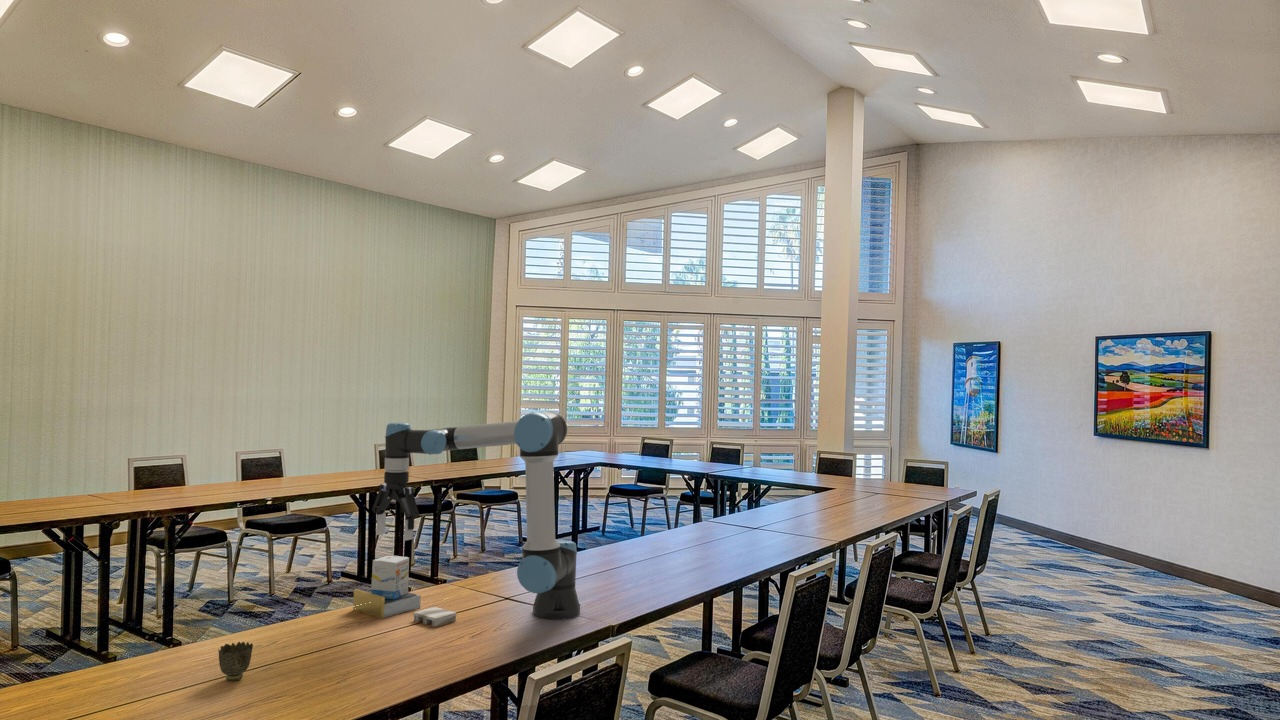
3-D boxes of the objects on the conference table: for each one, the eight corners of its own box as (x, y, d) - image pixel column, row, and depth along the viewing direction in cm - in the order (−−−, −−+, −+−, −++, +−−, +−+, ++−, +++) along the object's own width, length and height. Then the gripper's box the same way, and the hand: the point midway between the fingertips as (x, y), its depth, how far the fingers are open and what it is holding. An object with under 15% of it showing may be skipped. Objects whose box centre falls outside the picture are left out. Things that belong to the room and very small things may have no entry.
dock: (420, 607, 249) (421, 587, 250) (381, 618, 237) (381, 597, 237) (392, 599, 257) (393, 580, 257) (353, 610, 245) (353, 589, 245)
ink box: (393, 600, 242) (395, 562, 243) (370, 597, 245) (371, 560, 245) (408, 593, 251) (410, 556, 251) (385, 590, 253) (387, 554, 253)
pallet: (456, 620, 237) (456, 612, 237) (435, 627, 230) (436, 618, 230) (434, 614, 243) (434, 606, 243) (413, 620, 236) (413, 612, 236)
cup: (225, 673, 190) (226, 641, 190) (256, 673, 191) (257, 641, 191) (211, 685, 183) (212, 651, 183) (243, 685, 183) (245, 651, 184)
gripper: (432, 473, 246) (429, 540, 245) (381, 466, 260) (379, 530, 259) (413, 475, 240) (410, 543, 239) (362, 468, 254) (360, 533, 253)
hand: (394, 537), depth 249 cm, fingers open, 13 cm apart
